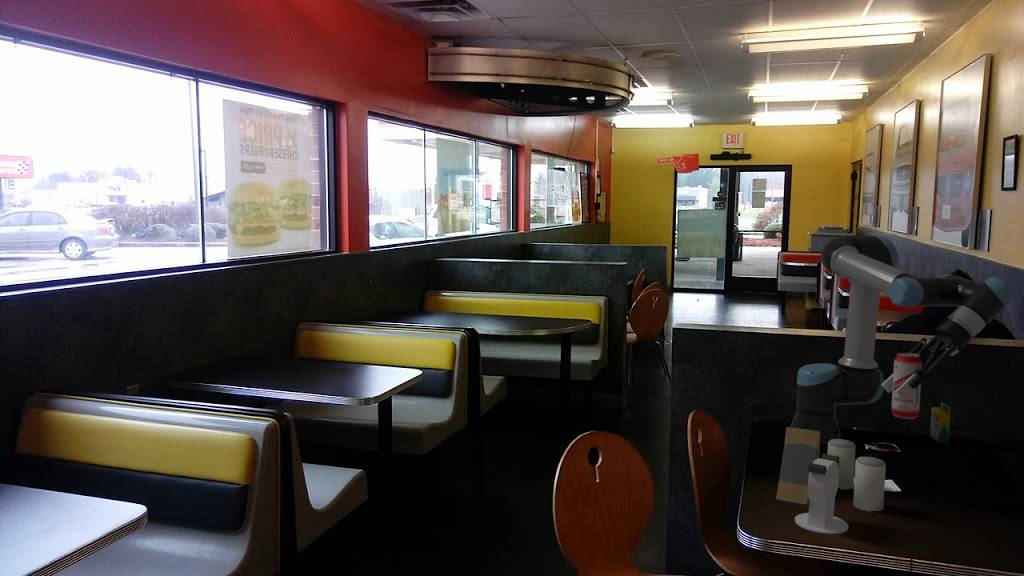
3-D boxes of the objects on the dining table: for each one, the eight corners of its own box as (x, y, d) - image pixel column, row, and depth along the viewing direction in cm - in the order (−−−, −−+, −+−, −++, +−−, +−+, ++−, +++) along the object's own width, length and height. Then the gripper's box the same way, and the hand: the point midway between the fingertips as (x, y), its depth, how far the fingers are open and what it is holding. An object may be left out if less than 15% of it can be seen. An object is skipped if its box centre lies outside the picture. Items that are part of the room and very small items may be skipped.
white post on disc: (805, 509, 182) (808, 448, 181) (855, 521, 175) (858, 458, 174) (787, 524, 173) (790, 460, 172) (839, 538, 166) (842, 471, 165)
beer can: (896, 412, 197) (899, 351, 195) (922, 416, 192) (926, 354, 191) (887, 416, 192) (890, 354, 191) (913, 421, 188) (917, 357, 186)
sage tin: (821, 480, 203) (823, 438, 202) (846, 480, 203) (848, 438, 202) (833, 489, 196) (835, 446, 195) (858, 489, 196) (860, 446, 195)
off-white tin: (848, 501, 188) (850, 456, 187) (874, 501, 188) (877, 456, 187) (861, 511, 181) (864, 464, 180) (888, 511, 182) (891, 464, 180)
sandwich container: (774, 500, 189) (777, 441, 188) (783, 481, 203) (786, 426, 201) (811, 506, 185) (814, 446, 184) (818, 486, 199) (820, 430, 197)
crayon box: (929, 436, 245) (931, 401, 244) (939, 437, 245) (941, 401, 244) (938, 443, 238) (941, 407, 237) (949, 443, 237) (951, 407, 236)
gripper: (994, 345, 181) (923, 412, 182) (946, 332, 200) (882, 393, 201) (974, 323, 181) (903, 390, 182) (927, 312, 200) (863, 373, 201)
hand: (892, 391), depth 192 cm, fingers closed on beer can, 6 cm apart
